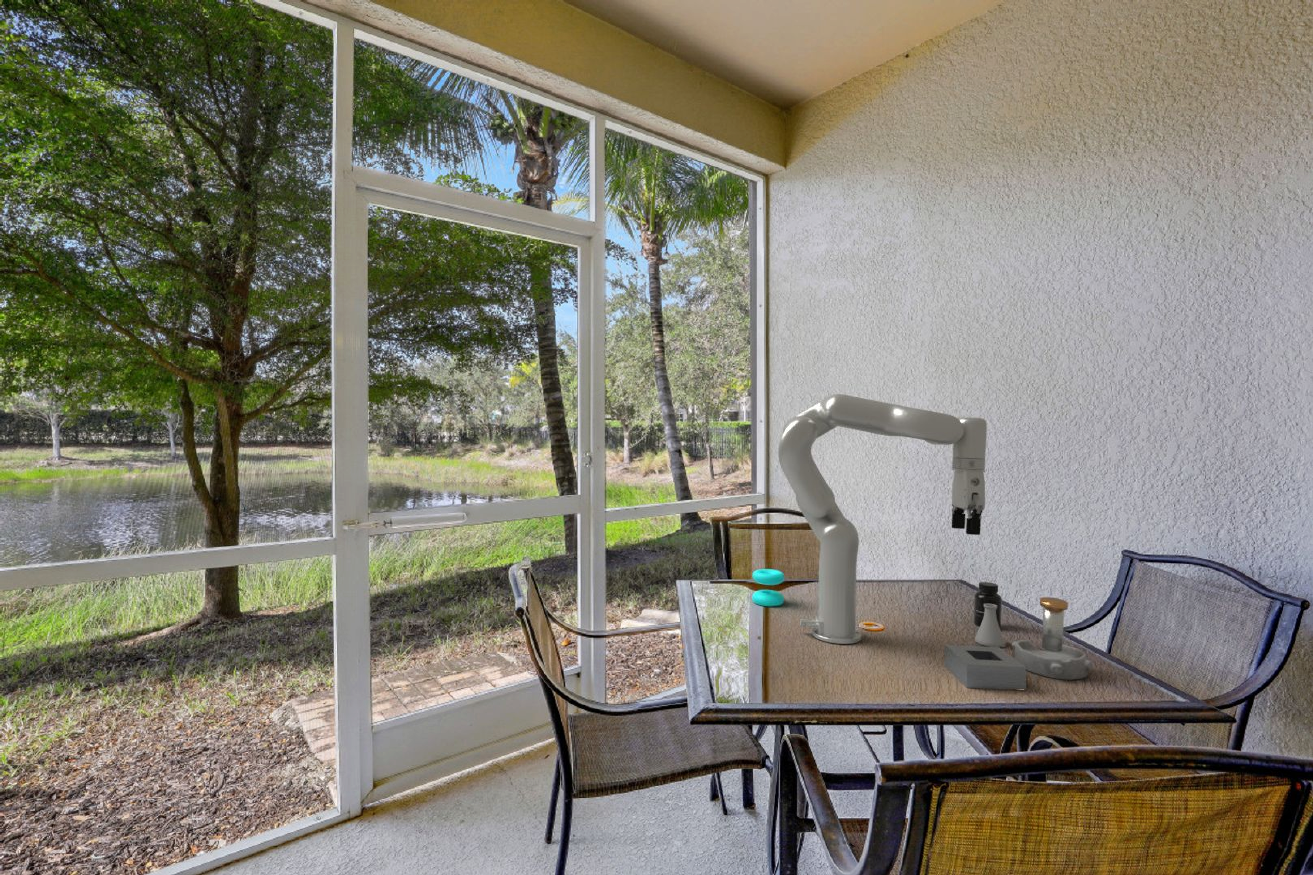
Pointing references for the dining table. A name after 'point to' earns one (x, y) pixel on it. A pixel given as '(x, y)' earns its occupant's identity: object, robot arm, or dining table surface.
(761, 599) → the donuts
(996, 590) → the supplement bottle
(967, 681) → the gray square-hole block
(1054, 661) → the dish
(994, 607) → the flask
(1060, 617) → the pin
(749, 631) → the dining table surface
